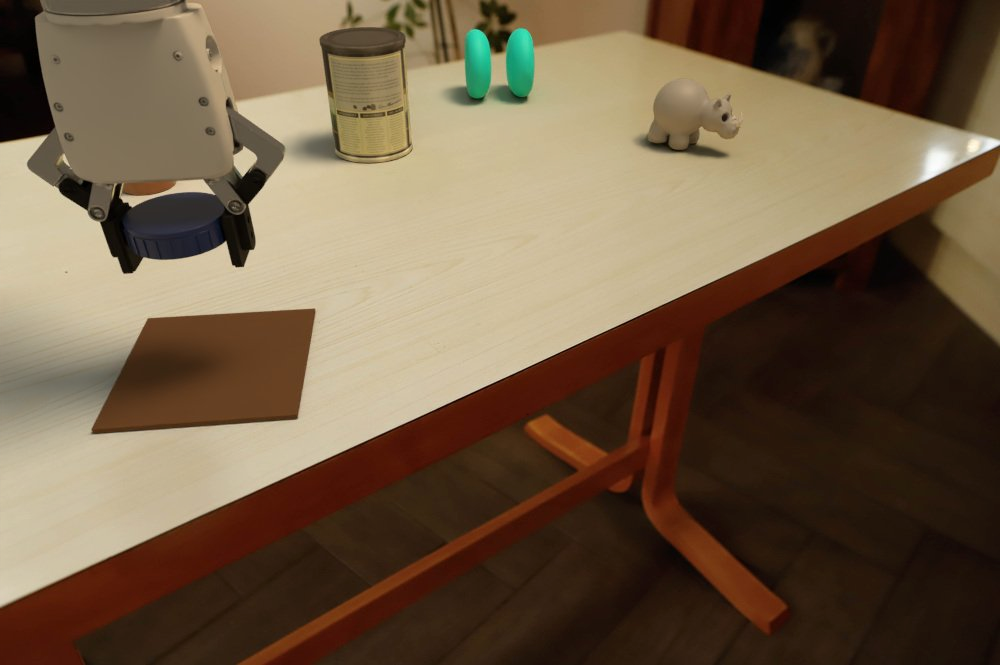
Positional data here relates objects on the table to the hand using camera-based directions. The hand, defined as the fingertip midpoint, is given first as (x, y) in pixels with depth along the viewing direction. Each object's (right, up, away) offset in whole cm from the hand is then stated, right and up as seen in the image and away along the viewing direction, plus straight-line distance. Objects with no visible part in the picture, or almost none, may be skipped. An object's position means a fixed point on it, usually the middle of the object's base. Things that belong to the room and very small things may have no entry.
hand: (188, 259), depth 51 cm
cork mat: (0, -8, +5) cm, 10 cm away
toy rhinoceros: (+48, +19, +45) cm, 68 cm away
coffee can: (+5, +19, +44) cm, 48 cm away
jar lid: (0, +3, -2) cm, 3 cm away
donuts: (+22, +32, +63) cm, 74 cm away
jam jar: (-19, +12, +34) cm, 41 cm away
